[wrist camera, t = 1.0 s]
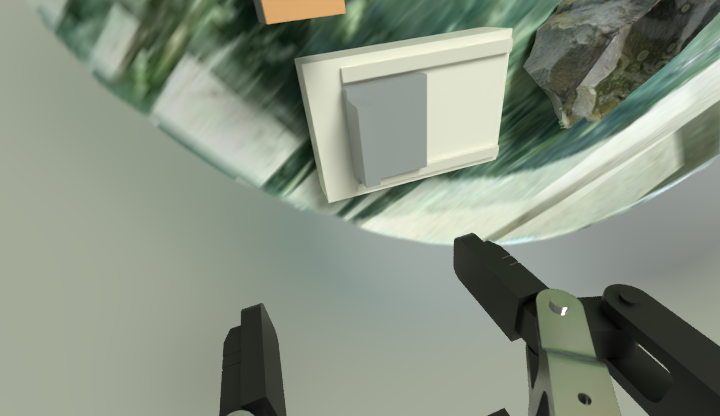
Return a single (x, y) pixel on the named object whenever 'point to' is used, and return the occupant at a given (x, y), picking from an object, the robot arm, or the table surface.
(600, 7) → the stone
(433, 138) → the socket block
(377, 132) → the grey l-shaped block
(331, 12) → the plug
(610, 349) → the robot arm
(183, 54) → the table surface
